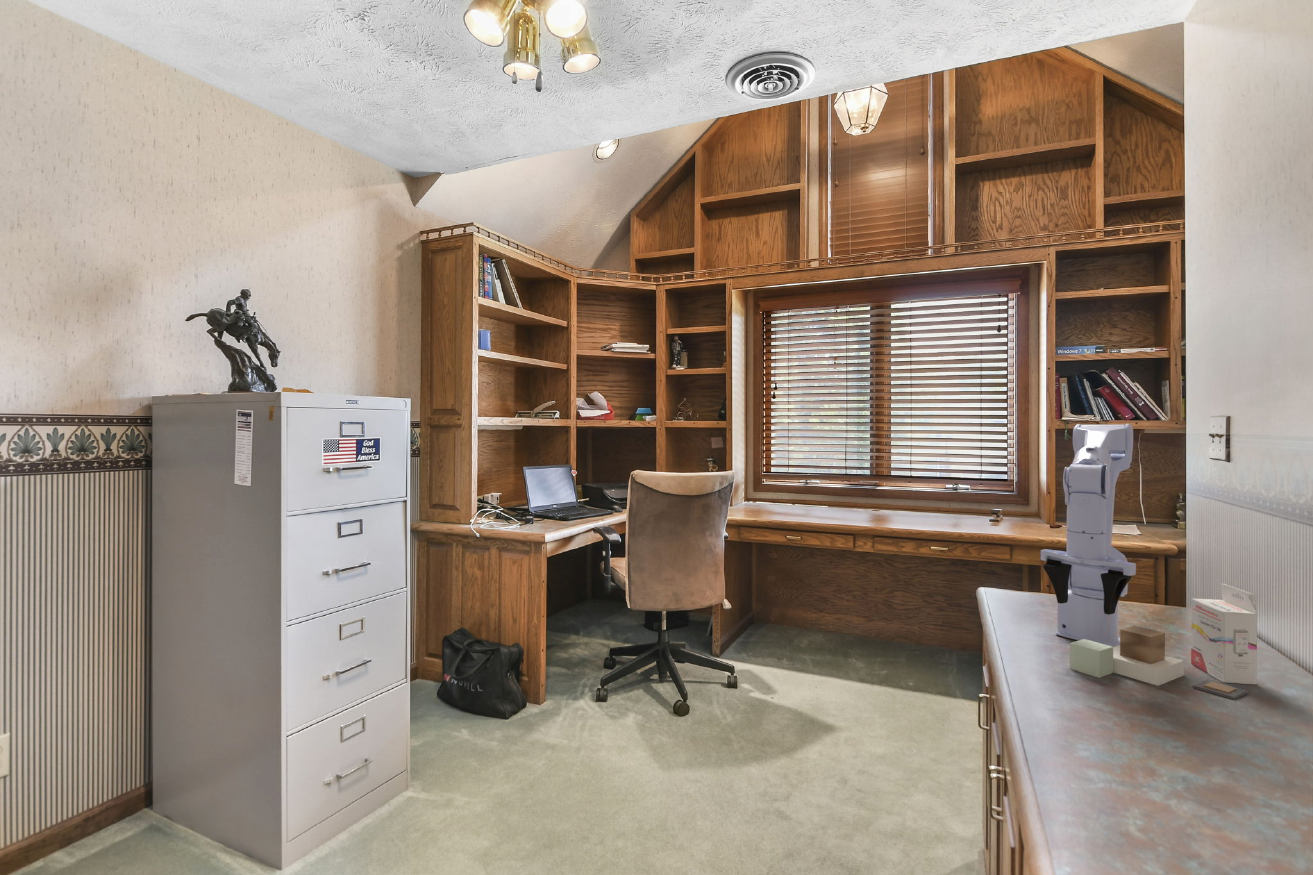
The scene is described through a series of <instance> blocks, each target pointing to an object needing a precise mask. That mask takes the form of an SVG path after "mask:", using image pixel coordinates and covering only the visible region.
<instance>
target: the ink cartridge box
mask: <svg viewBox="0 0 1313 875" xmlns="http://www.w3.org/2000/svg"><path fill="white" fill-rule="evenodd" d="M1220 592H1221V599H1211V598H1208V599H1207V598H1191V631H1190V632H1191V637H1190V639H1191V640H1190V641H1191V642H1190V643H1191V645H1190V646H1191V648H1190V664H1191V665H1192V666H1195V667H1196V668H1198V669H1200V670H1202V671H1203V672H1205V673H1206V674H1208V675H1210V676H1212V677H1214V678H1215V679H1217V680H1219V681H1221V683H1223V684H1225V683H1230V684H1242V685H1244V684H1245V685H1257V684H1258V677H1257V676H1258V614H1257V604H1256V603H1257V602H1256V595H1255V594H1254V593H1253V592H1248V591H1246V590H1243V589H1242V588H1241V589H1240V588H1237V587H1235V586H1232V585H1229V584H1225V583H1224V582H1223V583H1220ZM1233 594H1234V595H1237V594H1238V595H1239V597H1242V598H1243V599H1239V598H1237V597H1235V596H1233Z"/></svg>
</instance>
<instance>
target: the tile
mask: <svg viewBox="0 0 1313 875" xmlns="http://www.w3.org/2000/svg"><path fill="white" fill-rule="evenodd" d="M1192 688H1193V689H1196V690H1199V691H1203V692H1206V693H1210V694H1213V695H1216V696H1220V697H1224V698H1227V699H1230V700H1232V701H1233V700H1234V701H1235V700H1236V699H1238V698H1241V697H1242V696H1245V695H1247V694H1248V693H1249V692H1248V690H1247V689H1244V688H1243V689H1242V688H1239V687H1235V686H1232V685H1228V684H1225V683H1223V682H1217V681H1213V680H1210V679H1204V680H1202V681H1200V682H1199V681H1198V682H1197V683H1195V684H1193V685H1192Z"/></svg>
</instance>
